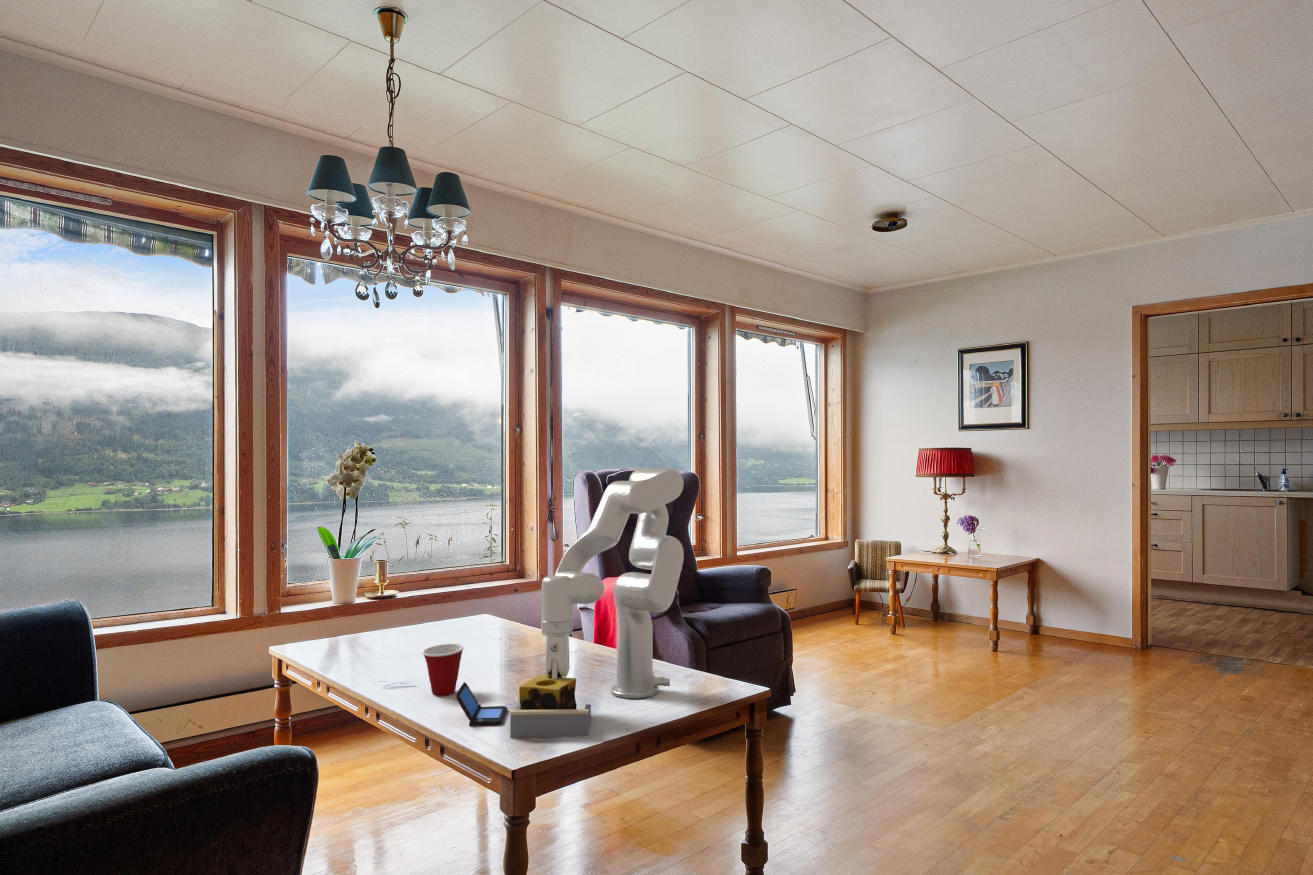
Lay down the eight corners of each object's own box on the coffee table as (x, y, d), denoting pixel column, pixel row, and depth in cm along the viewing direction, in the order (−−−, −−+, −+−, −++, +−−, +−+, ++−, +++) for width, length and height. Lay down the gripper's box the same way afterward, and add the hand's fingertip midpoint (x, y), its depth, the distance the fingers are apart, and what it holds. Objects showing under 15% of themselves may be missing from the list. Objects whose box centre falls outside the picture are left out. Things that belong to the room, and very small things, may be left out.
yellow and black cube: (577, 721, 180) (578, 678, 181) (558, 734, 171) (559, 689, 171) (538, 716, 184) (539, 674, 184) (518, 730, 174) (518, 685, 175)
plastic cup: (414, 692, 204) (415, 647, 205) (452, 685, 211) (453, 641, 212) (431, 701, 196) (432, 654, 196) (470, 694, 203) (471, 648, 203)
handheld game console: (501, 726, 177) (501, 694, 178) (454, 728, 176) (454, 695, 177) (508, 710, 190) (508, 679, 190) (463, 711, 189) (464, 680, 189)
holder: (590, 721, 180) (590, 697, 180) (588, 736, 170) (588, 710, 170) (517, 722, 179) (517, 698, 180) (510, 737, 169) (510, 711, 169)
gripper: (569, 633, 179) (569, 713, 178) (574, 621, 194) (574, 694, 193) (537, 633, 179) (537, 713, 178) (545, 621, 194) (544, 694, 193)
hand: (556, 703), depth 186 cm, fingers closed
